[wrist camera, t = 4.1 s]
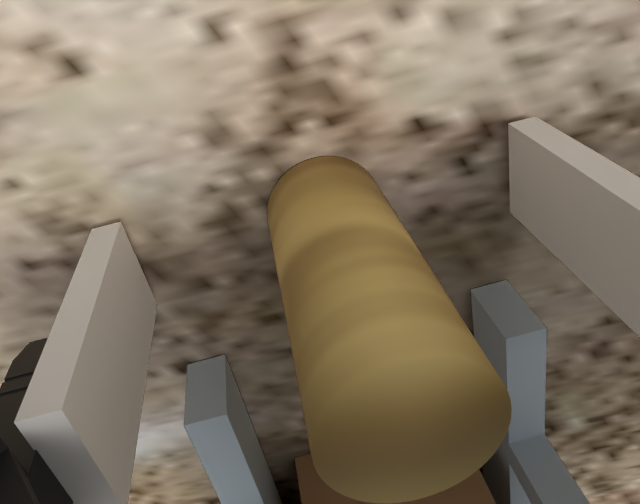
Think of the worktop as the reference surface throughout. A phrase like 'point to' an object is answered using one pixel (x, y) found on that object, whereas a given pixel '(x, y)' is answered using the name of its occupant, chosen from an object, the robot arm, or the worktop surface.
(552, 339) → the worktop surface
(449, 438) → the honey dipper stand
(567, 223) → the robot arm
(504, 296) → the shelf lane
